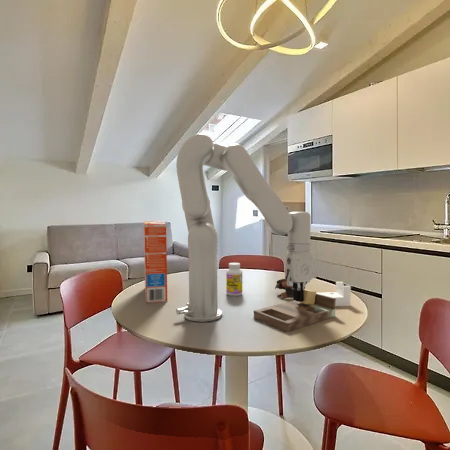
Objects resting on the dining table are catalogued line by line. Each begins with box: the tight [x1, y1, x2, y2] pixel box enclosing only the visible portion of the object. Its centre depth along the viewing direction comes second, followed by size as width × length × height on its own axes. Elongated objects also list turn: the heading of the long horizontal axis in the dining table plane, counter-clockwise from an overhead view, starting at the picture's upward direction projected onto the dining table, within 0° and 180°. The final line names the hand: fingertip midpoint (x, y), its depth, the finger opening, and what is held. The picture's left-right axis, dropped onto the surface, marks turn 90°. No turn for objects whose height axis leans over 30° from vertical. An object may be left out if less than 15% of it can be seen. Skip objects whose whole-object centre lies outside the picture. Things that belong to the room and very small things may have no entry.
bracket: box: [316, 281, 352, 307], centre depth 130 cm, size 13×7×8 cm, turn 95°
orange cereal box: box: [143, 220, 168, 303], centre depth 143 cm, size 23×8×30 cm, turn 14°
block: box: [297, 288, 317, 305], centre depth 121 cm, size 4×4×4 cm
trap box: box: [253, 292, 336, 333], centre depth 115 cm, size 23×15×6 cm, turn 126°
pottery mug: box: [274, 278, 294, 299], centre depth 141 cm, size 12×10×8 cm
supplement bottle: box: [225, 262, 243, 297], centre depth 143 cm, size 7×7×13 cm
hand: (298, 300), depth 119 cm, fingers closed
